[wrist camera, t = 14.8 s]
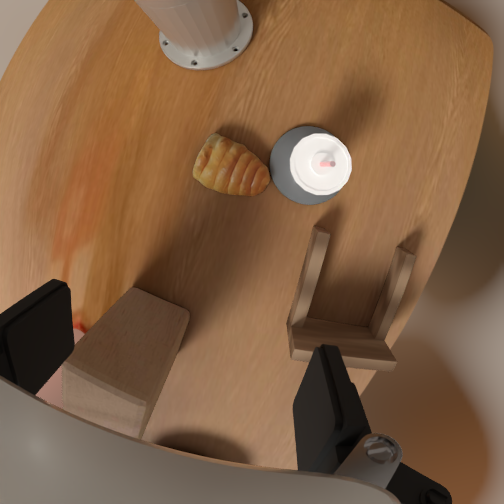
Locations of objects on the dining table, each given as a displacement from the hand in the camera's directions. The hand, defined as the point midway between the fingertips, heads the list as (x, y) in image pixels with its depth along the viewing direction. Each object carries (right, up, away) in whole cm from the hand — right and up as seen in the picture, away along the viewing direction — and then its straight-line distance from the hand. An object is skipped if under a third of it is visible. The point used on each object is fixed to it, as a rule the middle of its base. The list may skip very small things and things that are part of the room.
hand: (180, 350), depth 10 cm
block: (-12, -7, +34) cm, 37 cm away
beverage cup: (+10, +14, +27) cm, 32 cm away
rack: (+16, -1, +31) cm, 35 cm away
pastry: (0, +14, +28) cm, 31 cm away
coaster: (+10, +14, +27) cm, 32 cm away
